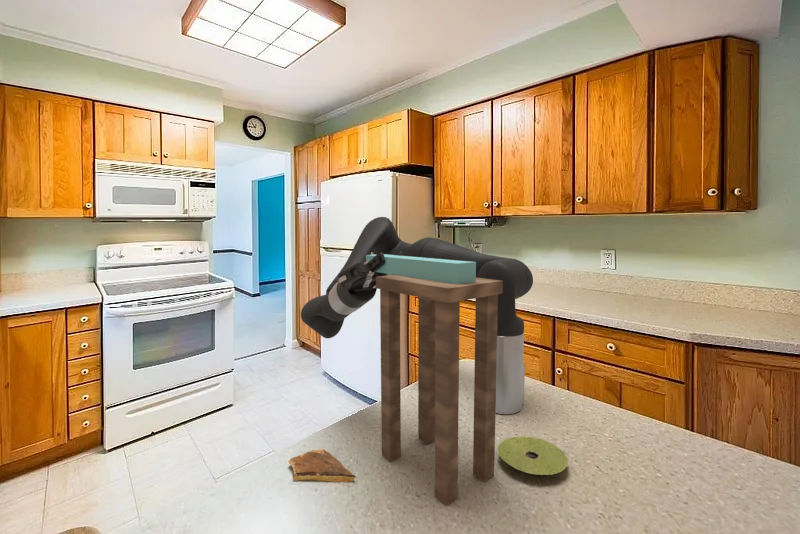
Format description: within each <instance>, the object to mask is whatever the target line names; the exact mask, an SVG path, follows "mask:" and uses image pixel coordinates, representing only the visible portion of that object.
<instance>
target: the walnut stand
mask: <svg viewBox="0 0 800 534" xmlns="http://www.w3.org/2000/svg"><path fill="white" fill-rule="evenodd" d="M376 288H377V290H379V293H380V295H379V296H380V297H379V301H380V302H379V304H380V305H379V307H380V309H379V311H380V314H379V315H380V319H379V320H380V322H379V323H380V395H381V398H380V399H381V401H380V402H381V403H380V410H381V411H380V412H381V413H380V414H381V415H380V416H381V423H380V425H381V456H382V457H383V458H384V459H385V460H386V461H388V462H389V463H391V462H393V461H395V460H398V459H399V458H401V454H402V453H401V452H402V445H401V444H402V443H401V441H402V440H401V439H402V438H401V437H402V436H401V435H402V434H401V427H402V425H401V419H402V418H401V412H402V411H401V410H402V409H401V404H402V403H401V402H402V401H401V295H407V296H411V297H417V298H418V299H417V301H418V304H417V305H418V309H417V311H418V314H417V316H418V318H417V319H418V323H417V324H418V325H417V327H418V330H417V331H418V332H417V333H418V335H417V337H418V339H417V340H418V342H417V343H418V344H417V345H418V348H417V349H418V350H417V351H418V353H417V354H418V356H417V357H418V362H417V363H418V366H417V367H418V368H417V369H418V375H417V377H418V378H417V379H418V380H417V382H418V385H417V386H418V389H417V390H418V391H417V392H418V393H417V394H418V395H417V396H418V399H417V400H418V405H417V406H418V407H417V408H418V410H417V411H418V414H417V419H418V421H417V423H418V424H417V425H418V426H417V429H418V430H417V431H418V435H417V436H418V438H417V439H418V440H419V441H421V442H422V443H424V444H425V445H429V444H431V443H434V498H435V499H437V500H438V501H439V502H440V503H441V504H443V505H444V506H446V507H447V506H449V504H452V503H453V502H455V501H456V500H458V498H459V497H458V488H459V487H458V484H459V483H458V482H459V481H458V480H459V479H458V477H459V476H458V475H459V405H460V403H459V401H460V400H459V397H460V395H459V394H460V386H459V385H460V317H461V316H460V310H461V309H460V308H461V306H460V305H461V304H460V303H461V301H467V300H474V299H475V313H474V319H475V320H474V321H475V322H474V323H475V324H474V374H473V375H474V379H473V380H474V381H473V382H474V386H473V387H474V388H473V389H474V390H473V441H472V442H473V444H472V445H473V446H472V447H473V452H472V455H473V456H472V459H473V460H472V475H473V476H475V477H476V478H478V479H479V480H481V481H483V482H487V481H488V480H490V479H491V478H493V477H494V476H495V454H496V453H495V452H496V451H495V448H496V447H495V446H496V445H495V444H496V442H495V441H496V413H495V412H496V365H497V317H498V294H503V281H501V280H493V279H485V278H477V277H476V282H470V283H462V284H453V283H446V282H440V281H433V280H426V279H420V278H413V277H406V276H399V275H387V276H377V277H376Z"/></svg>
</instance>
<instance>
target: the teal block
mask: <svg viewBox="0 0 800 534" xmlns="http://www.w3.org/2000/svg"><path fill="white" fill-rule="evenodd" d="M375 256H376V255H374V254H371V255H366V261H370V260H371V259H372V258H374V257H375ZM384 258H385V264H384V265H383V266H382V267H380V268H379V269H378V270H377V271H374V272H379V273H386V274H393V275H399V276H406V277H413V278H420V279H426V280H433V281H440V282H446V283H453V284H462V283H470V282H476V262H470V261H458V260H446V259H434V258H422V257H411V256H398V255H387V254H384Z"/></svg>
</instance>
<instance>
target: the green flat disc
mask: <svg viewBox="0 0 800 534" xmlns="http://www.w3.org/2000/svg"><path fill="white" fill-rule="evenodd" d="M497 452H498V455H499V457H500V458H501V459H502V460H503V462H505V464H506V463H507V465H509V466H510V467H513V468H514V469H516V470H518V471H521V472H523V473H527V474H530V475H536V476H537V475H540V476H543V475H546V476H549V475H556V474H557V475H558V474H559V473H561V472H563V471H565V470H566V468H567V466H568V463H569V459H568V457H567V455H566V453H565V452H564V451H563V450H562V449H561V448H559V447H558V446H557V445H555V444H553V443H551V442H550V441H547V440H544V439H541V438H538V437H532V436H531V437H530V436H513V437H509V438H505V439H504V440H502V441H501V442H500V443H499V445H498V446H497Z"/></svg>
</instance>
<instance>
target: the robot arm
mask: <svg viewBox="0 0 800 534" xmlns="http://www.w3.org/2000/svg"><path fill="white" fill-rule="evenodd" d="M384 254H387V255H398V256H411V257H422V258H434V259H446V260H458V261H470V262H476V277H477V278H485V279H493V280H501V281H503V294H498V317H497V365H496V412H495V414H498V415H499V414H500V415H511V414H517V413H519V412H520V411H521V410H522V409H523V405H525V380H526V379H525V377H526V376H525V375H526V363H524V353H525V350H524V348H525V347H524V344H525V343H524V342H525V340H524V339H525V321H524V319H523V318H521V317H520V316H518V315H517V312H516V299H519V298H522V297H523V296H525V295H526V294H528V293H529V292H530V291H531V288H532V287H533V284H534V276H533V274H532V271H531V270H530V268H529V267H528V266H527V264H525V263H524V262H523V261H521V260H519V259H516V258H511V257H502V256H496V255H490V254H485V253H481V252H479V251H476V250H472V249H471V248H467V247H464V246H462V245H459V244H455V243H453V242H451V241H450V242H449V241H446V240H443V239H439V238H437V237H431V236H429V237H423V238H421V239H418V240H417V241H415V242H413V243H409V242H406V241H403V240H402V239H401V238H400V237H399V234H398V232H397V229H396V228H395V226H394V223H393V222H392V220H391V219H390V218H389V217H386V216H379V217H375V218H373V219H371V220H370V221H369V222H368V223H367V224H365V226H364V228H363V229H362V231H361V233H360V235H359V236H358V238H357V241H356V243H355V244H354V247H353V249H352V250H351V252H350V255H349V256H348V258H347V260H346V261H345V264H344V265H343V267H342V268H341V269H340V271H339V272H338V273H337V275H336V276H335V277H334V278H333V280H332V281H331V282H330V284H328V287H326V288H327V289H326V291H325V294H323V295H319V296H316V297H314V298H311V299H309V300H308V301H307V302H306V303H305V304H304V305H303V306H302V308H301V311H300V318H301V321H302V322H303V323H304V324H305V325H306V326H308V327H309V328H311V329H312V330H313V331H315V332H316V333H317V334H319V336H321V338H324V339H331V338H334V337H336V336H337V335H338V334H339V333H340V331H341V329H342V327H343V325H344V323H345V319H346V318H347V317H349V316H350V315H351V314H352V313H355V312H357V311H358V310H359V309H360V308H362V307H364V305H366V304H367V303H369V302H370V301H371V300H372V299H374V297H375V295H376V293H377V290H378V289H377V288H376V277H377V276H387V275H393V274H386V273H379V272H374V271H377V270H378V269H379V268H380V267H382V266H383V265H384V264H385V258H384ZM366 255H376V256H375V257H374V258H372V259H371V260H370V261H366Z"/></svg>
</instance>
